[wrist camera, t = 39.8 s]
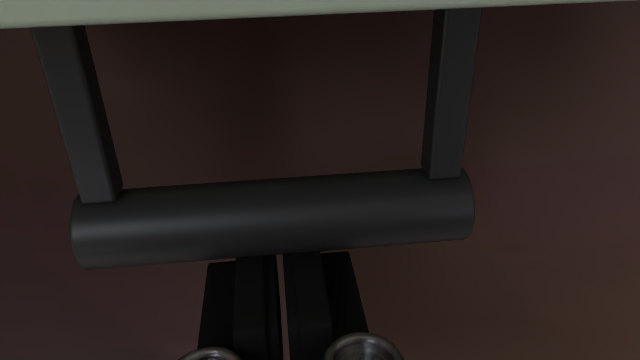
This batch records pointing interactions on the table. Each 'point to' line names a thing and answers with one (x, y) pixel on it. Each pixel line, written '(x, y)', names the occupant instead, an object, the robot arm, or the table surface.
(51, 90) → the drawer
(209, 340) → the robot arm
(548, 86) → the table surface
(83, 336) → the table surface
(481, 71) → the table surface
